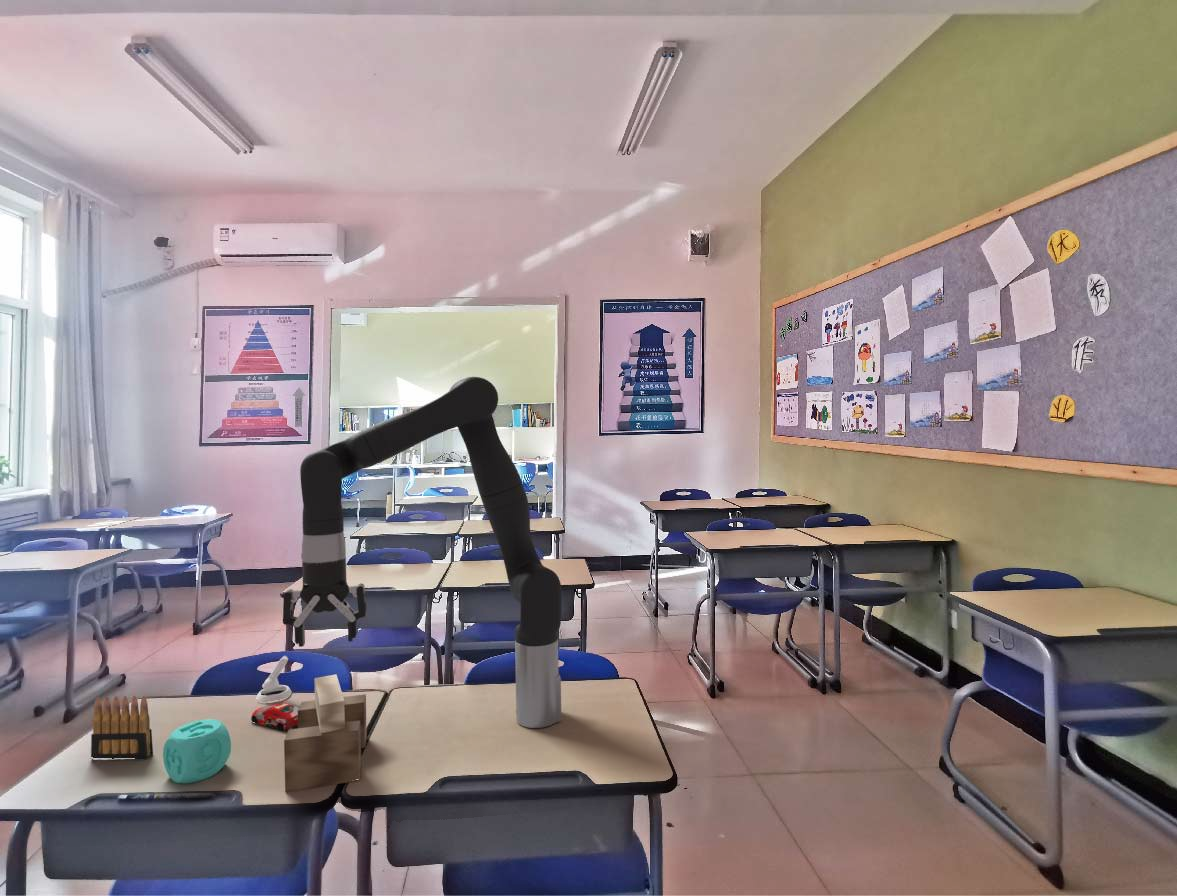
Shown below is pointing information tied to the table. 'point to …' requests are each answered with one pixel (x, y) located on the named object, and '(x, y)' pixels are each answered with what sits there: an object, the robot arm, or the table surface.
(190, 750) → the decorative dice
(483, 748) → the table surface
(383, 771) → the table surface
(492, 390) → the robot arm
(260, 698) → the hook
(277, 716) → the race car
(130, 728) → the ammunition clip
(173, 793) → the table surface
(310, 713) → the slotted shelf
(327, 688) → the maple beam
